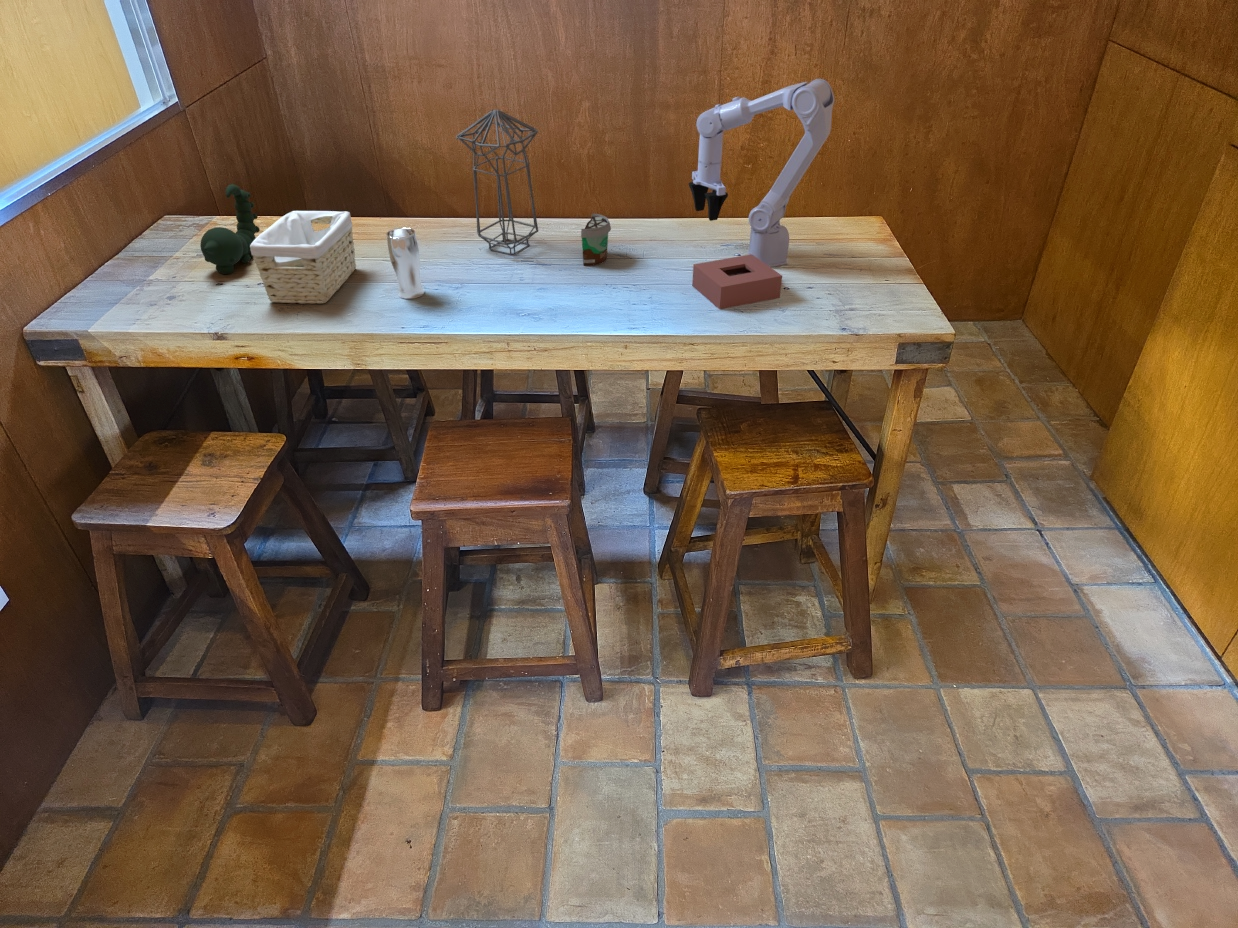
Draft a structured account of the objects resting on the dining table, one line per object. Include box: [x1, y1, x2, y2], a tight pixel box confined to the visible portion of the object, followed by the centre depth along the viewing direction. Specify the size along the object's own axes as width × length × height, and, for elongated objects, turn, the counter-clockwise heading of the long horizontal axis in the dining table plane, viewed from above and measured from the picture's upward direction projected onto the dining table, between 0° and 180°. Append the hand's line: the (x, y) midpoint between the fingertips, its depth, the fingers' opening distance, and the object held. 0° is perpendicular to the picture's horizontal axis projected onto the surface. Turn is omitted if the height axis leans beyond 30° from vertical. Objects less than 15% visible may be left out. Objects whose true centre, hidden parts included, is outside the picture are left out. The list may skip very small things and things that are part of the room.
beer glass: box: [385, 227, 425, 300], centre depth 183 cm, size 7×7×15 cm
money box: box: [691, 254, 783, 310], centre depth 186 cm, size 16×14×6 cm
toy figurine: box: [199, 183, 260, 275], centre depth 197 cm, size 9×19×25 cm
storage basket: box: [250, 210, 357, 304], centre depth 188 cm, size 24×16×15 cm
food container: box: [580, 213, 612, 267], centre depth 201 cm, size 12×6×10 cm, turn 168°
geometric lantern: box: [455, 109, 539, 256], centre depth 200 cm, size 16×16×35 cm
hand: (706, 215), depth 203 cm, fingers open, 7 cm apart
